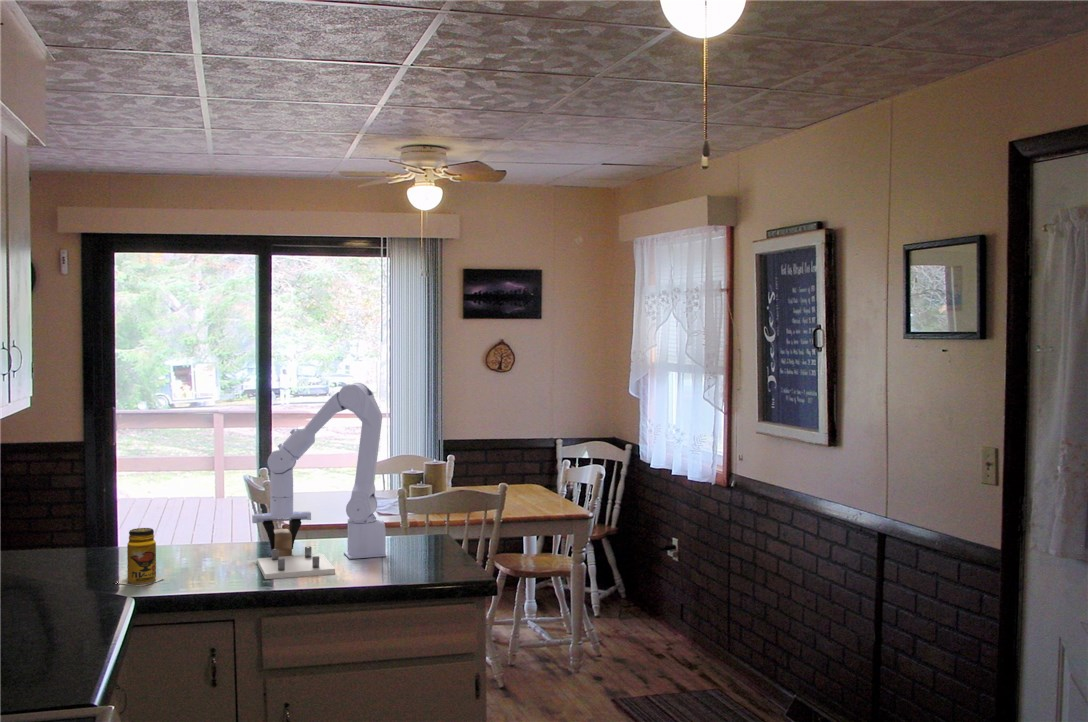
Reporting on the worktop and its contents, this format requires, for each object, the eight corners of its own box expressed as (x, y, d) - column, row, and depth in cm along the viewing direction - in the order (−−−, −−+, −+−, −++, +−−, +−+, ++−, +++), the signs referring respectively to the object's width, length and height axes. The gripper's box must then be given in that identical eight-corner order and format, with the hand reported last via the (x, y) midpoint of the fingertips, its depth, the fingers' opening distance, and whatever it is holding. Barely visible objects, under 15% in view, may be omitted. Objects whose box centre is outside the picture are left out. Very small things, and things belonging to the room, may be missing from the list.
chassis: (322, 558, 257) (322, 543, 257) (335, 573, 240) (335, 558, 240) (256, 563, 251) (256, 548, 251) (265, 579, 234) (265, 563, 234)
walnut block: (287, 551, 265) (287, 528, 265) (291, 557, 258) (291, 534, 258) (271, 552, 264) (271, 529, 264) (275, 558, 256) (275, 535, 256)
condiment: (143, 586, 227) (143, 533, 226) (112, 583, 229) (112, 530, 229) (165, 579, 234) (165, 527, 233) (134, 576, 236) (134, 525, 236)
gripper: (308, 492, 267) (308, 544, 267) (250, 495, 261) (250, 548, 262) (312, 496, 260) (312, 549, 261) (253, 499, 255) (253, 553, 255)
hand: (281, 549), depth 261 cm, fingers closed on walnut block, 4 cm apart
